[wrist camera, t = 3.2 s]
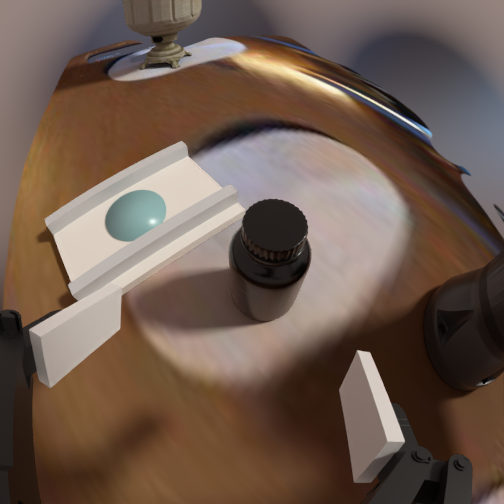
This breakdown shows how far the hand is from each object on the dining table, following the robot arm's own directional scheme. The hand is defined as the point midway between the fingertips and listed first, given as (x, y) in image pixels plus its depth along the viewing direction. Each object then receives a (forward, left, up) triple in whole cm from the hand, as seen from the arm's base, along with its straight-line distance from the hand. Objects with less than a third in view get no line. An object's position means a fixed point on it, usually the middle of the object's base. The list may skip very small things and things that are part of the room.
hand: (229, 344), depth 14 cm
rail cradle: (-2, -22, -13) cm, 26 cm away
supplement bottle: (-8, -5, -14) cm, 17 cm away
